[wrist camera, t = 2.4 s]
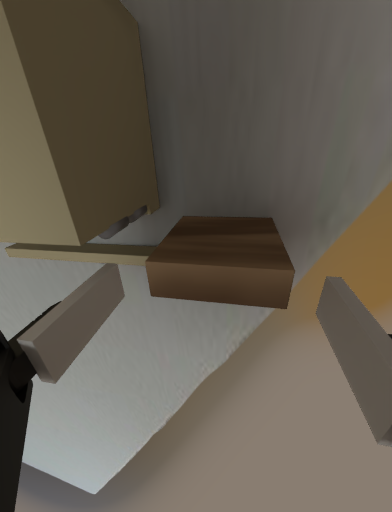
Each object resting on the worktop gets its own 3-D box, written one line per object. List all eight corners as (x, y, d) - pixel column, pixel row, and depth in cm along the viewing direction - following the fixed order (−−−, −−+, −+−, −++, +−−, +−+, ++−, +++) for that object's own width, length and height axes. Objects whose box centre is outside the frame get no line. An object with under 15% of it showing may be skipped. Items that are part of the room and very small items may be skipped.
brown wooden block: (183, 216, 22) (144, 261, 13) (271, 217, 20) (294, 270, 12) (185, 250, 24) (153, 309, 15) (266, 254, 22) (283, 323, 13)
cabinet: (-63, 56, 19) (-421, -52, 9) (138, 22, 15) (-73, -238, 5) (26, 248, 28) (-100, 307, 18) (166, 256, 25) (111, 336, 14)
